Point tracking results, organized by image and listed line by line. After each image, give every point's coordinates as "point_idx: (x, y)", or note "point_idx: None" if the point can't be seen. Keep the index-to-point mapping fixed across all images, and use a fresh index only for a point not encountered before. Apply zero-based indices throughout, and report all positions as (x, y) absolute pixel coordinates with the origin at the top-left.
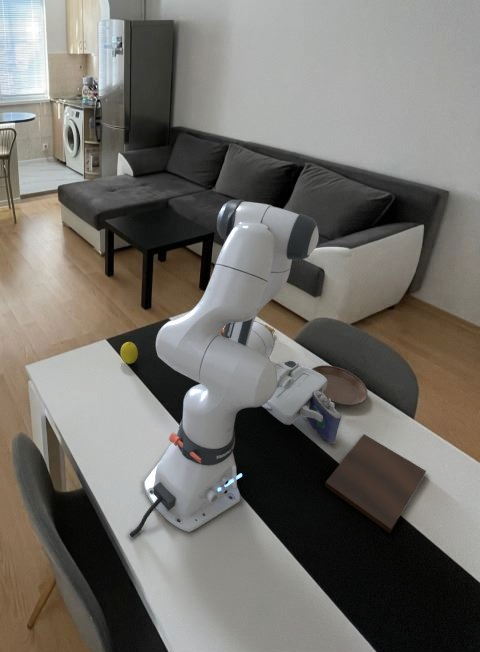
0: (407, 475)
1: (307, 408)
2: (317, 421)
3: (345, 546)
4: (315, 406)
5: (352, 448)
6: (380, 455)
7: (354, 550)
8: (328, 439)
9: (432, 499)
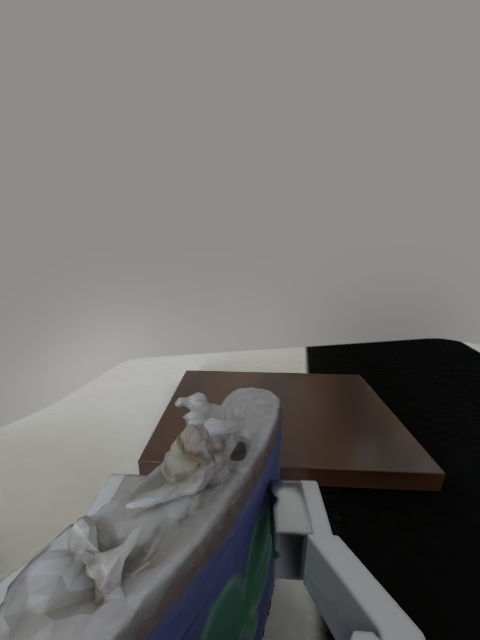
0: (222, 381)
1: (380, 638)
2: (248, 623)
3: (475, 414)
4: (206, 622)
5: None
6: None
7: (457, 405)
8: None
9: (232, 371)
